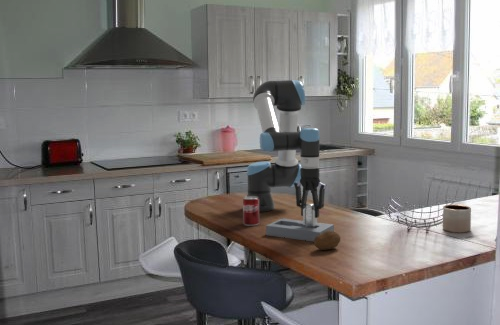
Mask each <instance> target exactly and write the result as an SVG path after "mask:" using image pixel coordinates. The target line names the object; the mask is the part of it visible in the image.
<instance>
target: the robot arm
mask: <svg viewBox="0 0 500 325" xmlns="http://www.w3.org/2000/svg"><path fill="white" fill-rule="evenodd" d="M304 87H305V86H304V84H303V83H302V81H301V80H293V79H289V80H288V79H287V80H267V81H265V82H263V83H261V84H260V85H259V86H258V87H257V88H256V90H255V91H254V93H253V96H252V103H253V106H254V108H255V109H256V111H257V115H258V118H259V123H260V127H261V131H262V133H260V134H259V147H260V150H261V151H263V152H278V154H277V155H278V156H277V158H275V159H274V163H273V164H271V162H270V161H257V162H252V163H251V164H249V165H248V166H247V167H246V168H247V169H246V170H247V171H246V176H247V181H246V182H247V187H246V188H247V194H246V197H248V196H255V197H258V198H259V213H261V212H270V211H273V210H275V202H274V199H273V196H272V188H273V189H274V188H292V187H294V188H295V202H296V207H298V208H300V216H301V217H302V221H303V225H306V222H305V204H307V201H308V197H309V196H308V195H309V191H310V193H311V198H312V202H313V203H312V204H314V210H313V226H316V225H317V223H318V218H320V210H321V209H324V207H325V193H326V192H325V191H326V187H327V184H326V183H322V182H321V180H320V139H321V137H320V130H319V129H318V128H315V127H313V128H312V127H307V128H301V129H300V130H299V131H298V116H299V115H298V113H299V112H300V111H301V110H302V106H304V105H305V104H306V93H305V88H304ZM275 107H276V110H277V111H278V112H279V118H278V117H277V113H276V110H275ZM278 119H279V121H278ZM297 151H300V161H299V160H298V159H297V158H296V154H297ZM301 186H302V187H301ZM318 188H319V191H318ZM318 192H319V193H318Z"/></svg>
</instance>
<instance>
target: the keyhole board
mask: <svg viewBox="0 0 500 325" xmlns="http://www.w3.org/2000/svg"><path fill="white" fill-rule="evenodd" d="M325 231H334V232H335V224H334V223H333V224H332V223H323V222H317V225H316V226H314V228H307V227H306V225H303V220H299V219H292V218H291V219H290V218H280V219H277V220H275V221H274V222H271V223H268V224H266V225H265V236H268V237H269V236H270V237H278V238H284V237H285V238H286V239H292V240H301V241H305V240H306V242H313V243H314V239H315V237H317V236H318V235H320V234H322V233H323V232H325ZM285 238H284V239H285Z"/></svg>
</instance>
